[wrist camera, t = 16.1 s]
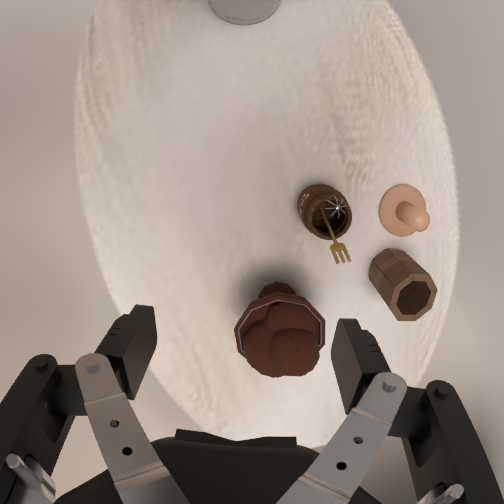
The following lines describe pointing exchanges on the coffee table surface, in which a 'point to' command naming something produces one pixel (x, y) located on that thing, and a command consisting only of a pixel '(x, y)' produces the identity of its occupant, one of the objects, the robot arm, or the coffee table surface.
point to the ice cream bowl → (280, 333)
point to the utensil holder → (326, 215)
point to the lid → (403, 211)
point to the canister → (402, 284)
